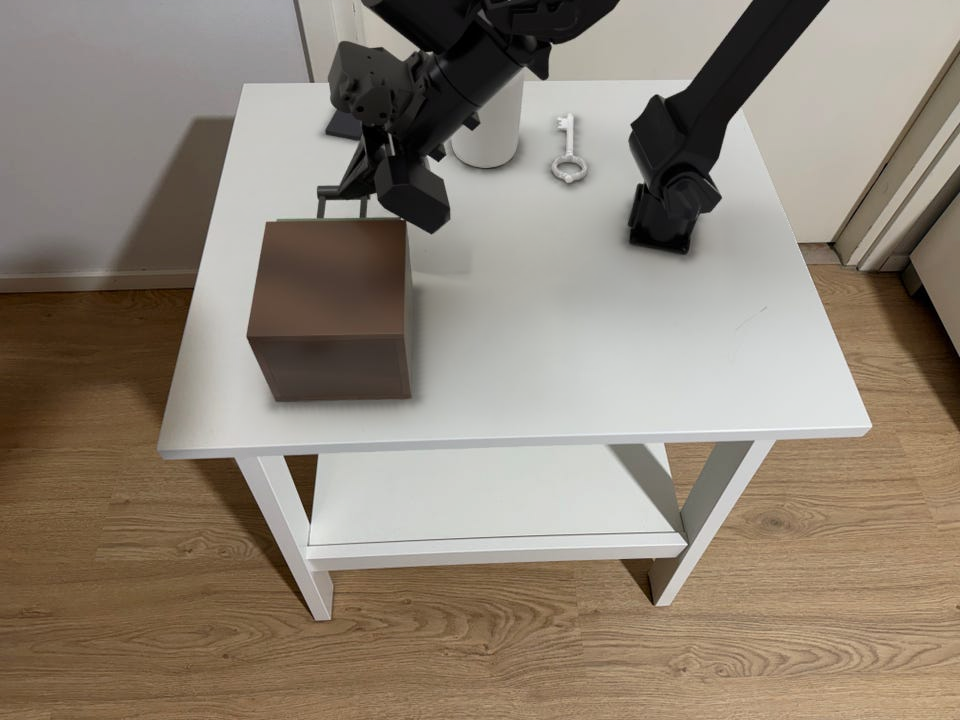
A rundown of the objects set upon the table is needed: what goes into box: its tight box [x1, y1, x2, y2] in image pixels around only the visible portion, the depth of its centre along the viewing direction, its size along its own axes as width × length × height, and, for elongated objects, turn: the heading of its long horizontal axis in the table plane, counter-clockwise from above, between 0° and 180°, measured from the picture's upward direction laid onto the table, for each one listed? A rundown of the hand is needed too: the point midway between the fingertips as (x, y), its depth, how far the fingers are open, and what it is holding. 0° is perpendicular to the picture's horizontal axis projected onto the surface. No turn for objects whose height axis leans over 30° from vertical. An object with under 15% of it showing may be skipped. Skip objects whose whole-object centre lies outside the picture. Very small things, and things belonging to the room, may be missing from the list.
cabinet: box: [245, 219, 414, 403], centre depth 64 cm, size 13×13×11 cm
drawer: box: [275, 184, 402, 221], centre depth 67 cm, size 17×11×9 cm
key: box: [551, 112, 589, 184], centre depth 84 cm, size 12×1×4 cm
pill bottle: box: [450, 67, 526, 169], centre depth 78 cm, size 8×8×15 cm
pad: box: [324, 109, 362, 141], centre depth 86 cm, size 4×4×1 cm
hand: (341, 195), depth 64 cm, fingers closed
